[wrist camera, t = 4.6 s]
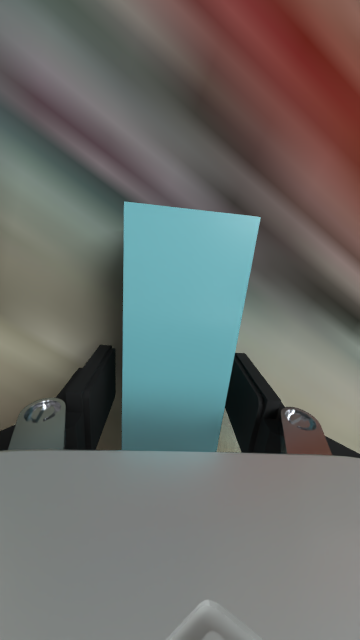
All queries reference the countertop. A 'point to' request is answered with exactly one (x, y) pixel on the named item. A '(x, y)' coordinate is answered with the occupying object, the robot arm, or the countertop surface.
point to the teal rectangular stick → (180, 322)
